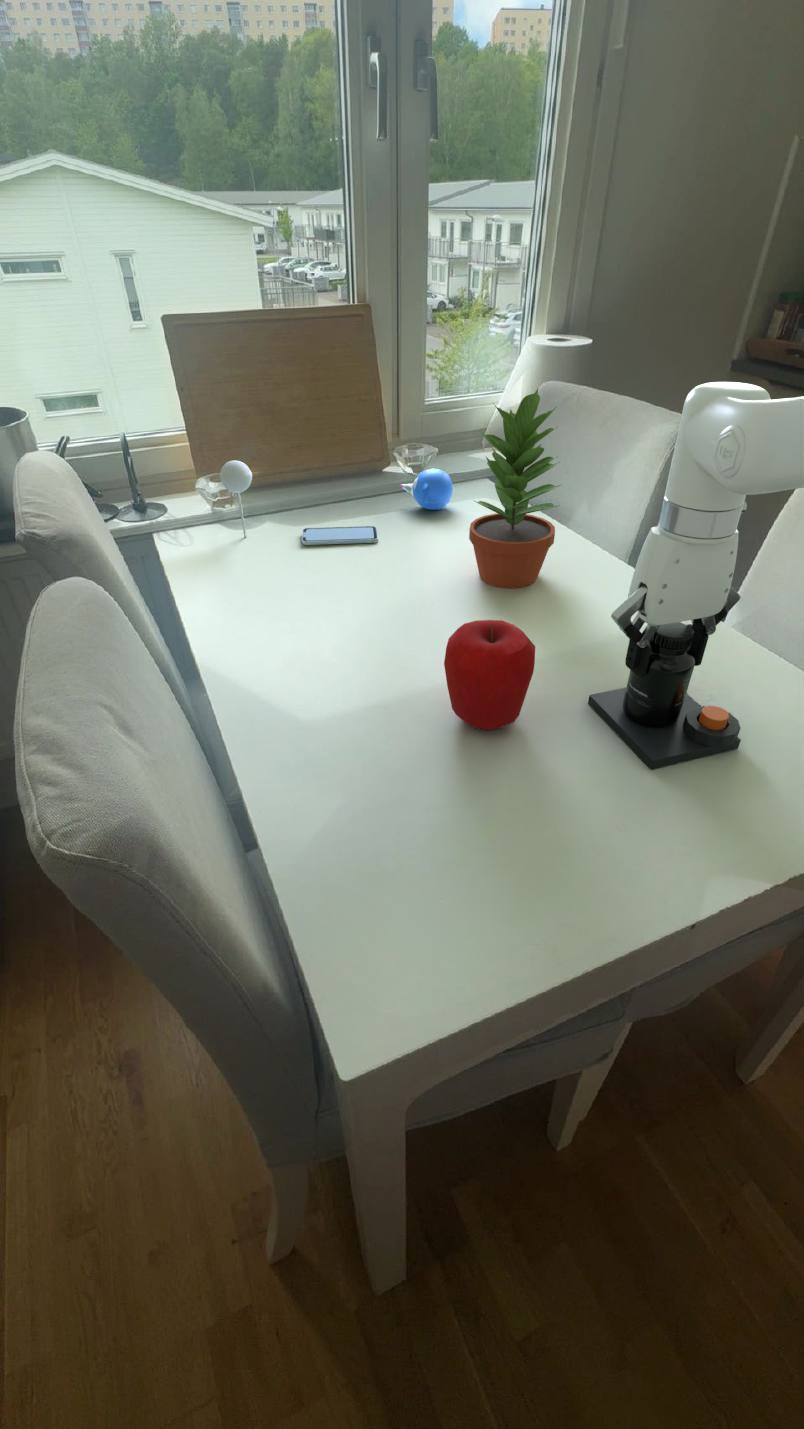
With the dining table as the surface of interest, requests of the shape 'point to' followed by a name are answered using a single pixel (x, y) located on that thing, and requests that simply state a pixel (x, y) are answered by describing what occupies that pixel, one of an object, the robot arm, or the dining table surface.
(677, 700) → the supplement bottle
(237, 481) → the lollipop
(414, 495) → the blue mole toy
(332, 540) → the smartphone
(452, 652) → the apple
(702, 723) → the button
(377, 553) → the dining table surface
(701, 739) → the scale
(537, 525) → the potted plant
